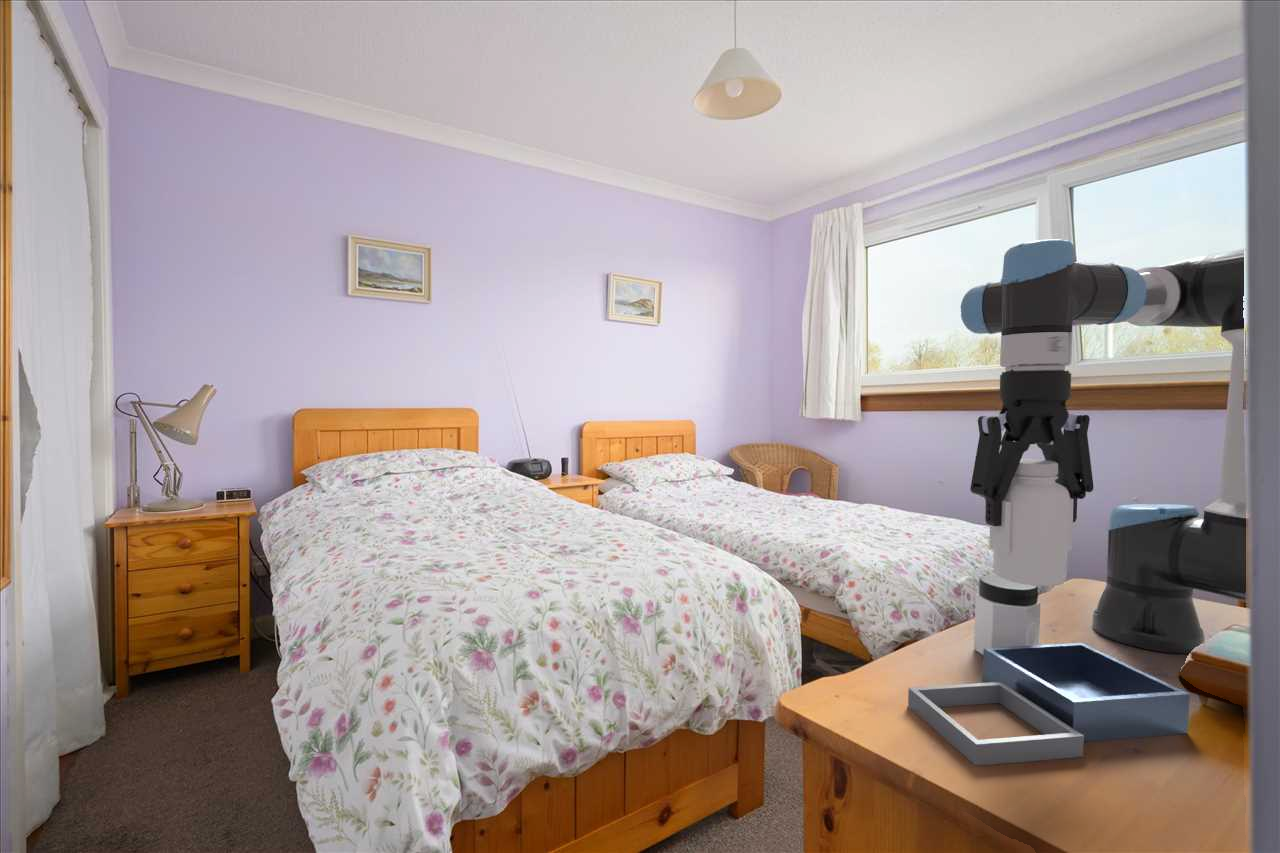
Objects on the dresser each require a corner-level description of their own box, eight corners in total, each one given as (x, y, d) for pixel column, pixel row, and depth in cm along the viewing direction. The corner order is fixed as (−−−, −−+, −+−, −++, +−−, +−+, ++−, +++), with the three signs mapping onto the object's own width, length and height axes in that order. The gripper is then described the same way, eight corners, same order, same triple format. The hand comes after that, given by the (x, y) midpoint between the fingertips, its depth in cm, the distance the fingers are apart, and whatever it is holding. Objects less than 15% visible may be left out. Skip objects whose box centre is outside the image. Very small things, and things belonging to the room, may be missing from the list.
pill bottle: (1039, 591, 74) (1043, 466, 73) (979, 573, 82) (981, 459, 81) (1082, 582, 77) (1085, 462, 76) (1020, 566, 85) (1022, 456, 84)
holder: (1000, 699, 86) (1000, 681, 86) (1083, 756, 72) (1083, 735, 72) (908, 705, 84) (908, 687, 84) (975, 765, 71) (976, 744, 70)
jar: (1018, 671, 95) (1021, 593, 94) (965, 652, 101) (967, 579, 101) (1046, 657, 100) (1049, 583, 99) (994, 640, 106) (996, 571, 106)
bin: (1080, 675, 93) (1081, 642, 93) (1187, 733, 78) (1189, 694, 77) (982, 681, 91) (983, 648, 91) (1072, 742, 75) (1074, 702, 75)
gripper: (979, 369, 73) (975, 561, 74) (1135, 367, 76) (1129, 552, 77) (939, 371, 80) (936, 545, 82) (1083, 369, 83) (1078, 538, 84)
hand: (1030, 549), depth 79 cm, fingers closed on pill bottle, 8 cm apart
